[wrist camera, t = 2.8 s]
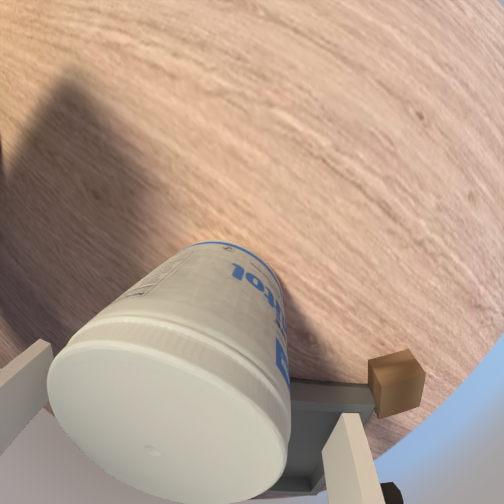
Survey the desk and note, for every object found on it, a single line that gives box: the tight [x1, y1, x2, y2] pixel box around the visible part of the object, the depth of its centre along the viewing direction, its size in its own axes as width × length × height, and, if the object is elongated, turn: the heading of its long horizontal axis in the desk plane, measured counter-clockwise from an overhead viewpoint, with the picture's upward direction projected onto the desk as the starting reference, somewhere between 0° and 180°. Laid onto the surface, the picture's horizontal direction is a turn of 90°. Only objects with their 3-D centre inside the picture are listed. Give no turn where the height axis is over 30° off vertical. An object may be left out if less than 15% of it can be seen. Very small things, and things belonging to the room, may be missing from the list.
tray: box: [263, 378, 376, 495], centre depth 24 cm, size 17×17×3 cm
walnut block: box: [368, 349, 426, 419], centre depth 21 cm, size 4×4×4 cm
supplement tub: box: [47, 240, 291, 504], centre depth 15 cm, size 10×10×15 cm
